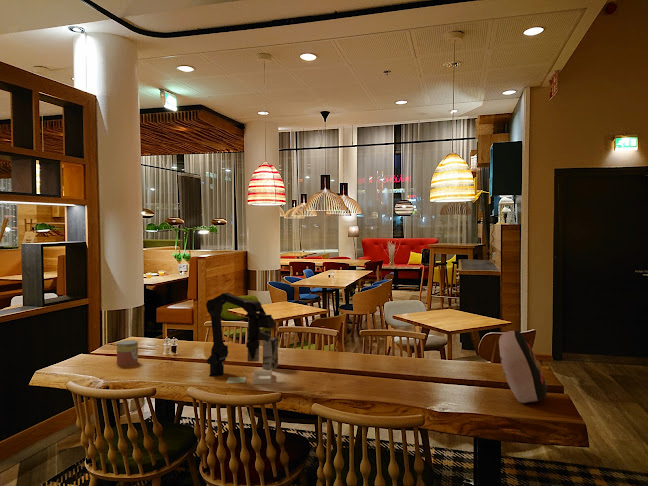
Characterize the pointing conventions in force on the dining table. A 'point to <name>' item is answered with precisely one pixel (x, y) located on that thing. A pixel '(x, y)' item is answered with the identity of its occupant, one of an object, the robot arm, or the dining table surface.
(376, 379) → the dining table surface
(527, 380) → the packaged food
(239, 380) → the sage mat
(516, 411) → the dining table surface
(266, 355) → the coffee box
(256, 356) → the walnut box
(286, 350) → the dining table surface
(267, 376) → the carton
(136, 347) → the canned food
